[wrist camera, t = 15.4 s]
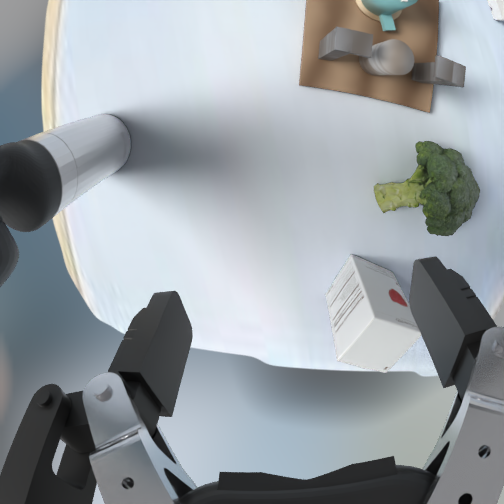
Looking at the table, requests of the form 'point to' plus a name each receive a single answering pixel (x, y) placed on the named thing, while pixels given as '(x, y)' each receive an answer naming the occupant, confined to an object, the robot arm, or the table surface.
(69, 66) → the table surface
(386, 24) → the teal rounded body
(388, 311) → the supplement box
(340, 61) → the board with gray uprights
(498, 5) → the food packaging
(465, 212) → the vegetable
